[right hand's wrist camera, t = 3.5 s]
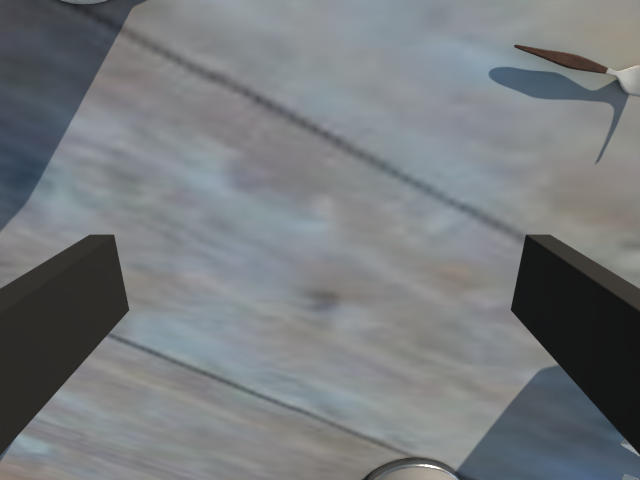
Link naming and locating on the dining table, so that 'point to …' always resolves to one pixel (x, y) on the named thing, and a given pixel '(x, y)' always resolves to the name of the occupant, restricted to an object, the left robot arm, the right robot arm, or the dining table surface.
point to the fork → (590, 67)
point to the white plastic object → (627, 478)
